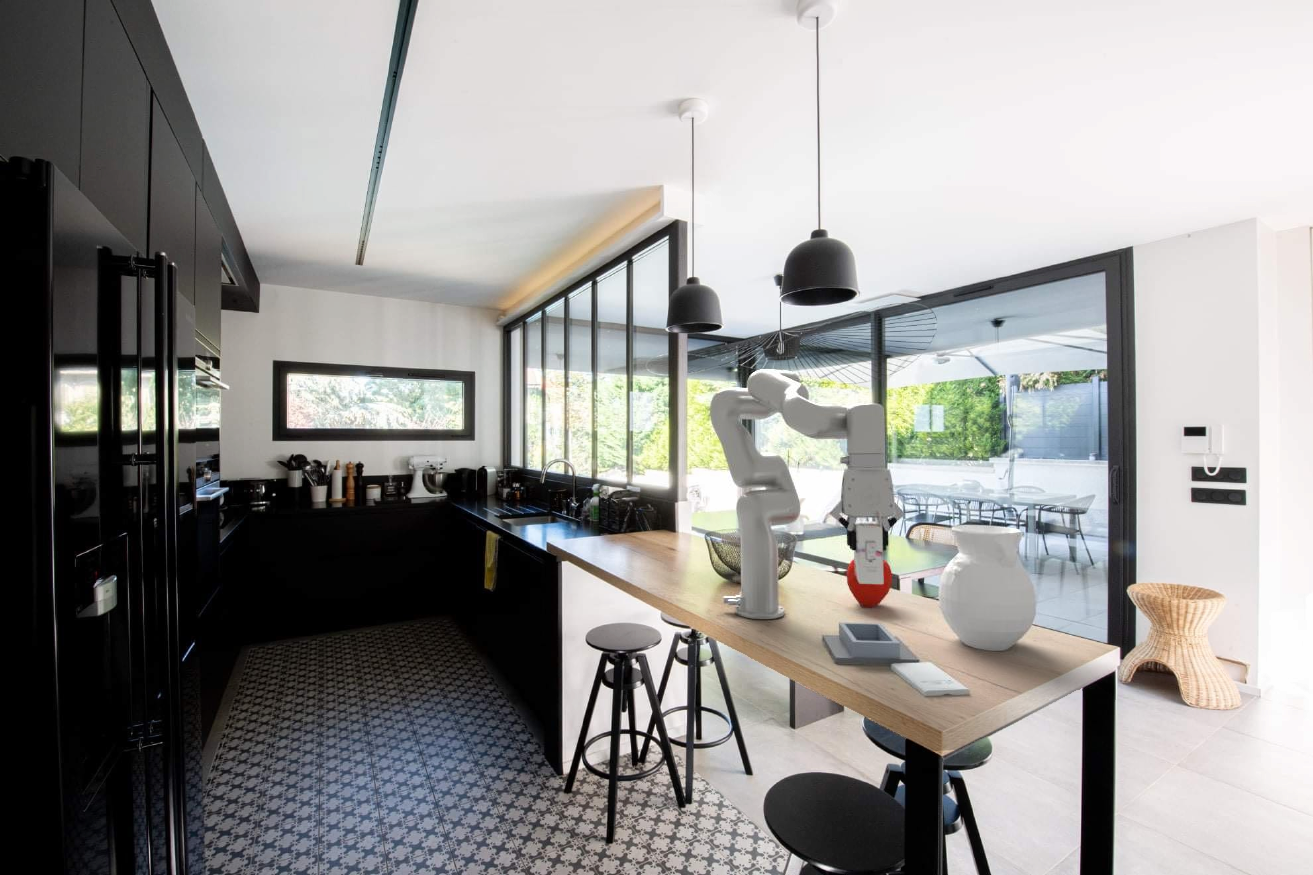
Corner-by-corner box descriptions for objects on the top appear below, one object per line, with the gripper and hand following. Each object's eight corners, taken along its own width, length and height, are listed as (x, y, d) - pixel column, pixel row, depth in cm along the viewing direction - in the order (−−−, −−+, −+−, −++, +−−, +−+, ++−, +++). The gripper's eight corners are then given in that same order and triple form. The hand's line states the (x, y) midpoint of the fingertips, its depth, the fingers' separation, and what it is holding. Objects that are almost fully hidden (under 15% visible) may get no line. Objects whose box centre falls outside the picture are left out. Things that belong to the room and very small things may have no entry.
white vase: (1058, 657, 120) (1056, 533, 120) (971, 660, 118) (969, 535, 119) (999, 628, 138) (997, 521, 138) (923, 630, 137) (921, 523, 137)
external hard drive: (931, 670, 115) (970, 697, 102) (890, 671, 114) (924, 699, 102) (931, 661, 115) (970, 688, 102) (890, 663, 114) (924, 689, 102)
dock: (835, 663, 117) (835, 642, 117) (822, 640, 131) (822, 621, 131) (919, 665, 115) (919, 644, 116) (896, 641, 129) (896, 622, 129)
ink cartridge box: (853, 575, 128) (851, 507, 128) (877, 575, 127) (875, 507, 127) (858, 584, 119) (857, 511, 120) (884, 584, 118) (883, 511, 119)
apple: (900, 611, 153) (900, 559, 153) (855, 611, 153) (854, 560, 153) (883, 599, 164) (882, 551, 165) (841, 599, 165) (840, 551, 165)
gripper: (827, 463, 121) (829, 552, 120) (914, 462, 119) (916, 552, 119) (821, 462, 128) (822, 546, 128) (902, 461, 127) (904, 546, 126)
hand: (867, 548), depth 123 cm, fingers closed on ink cartridge box, 5 cm apart
